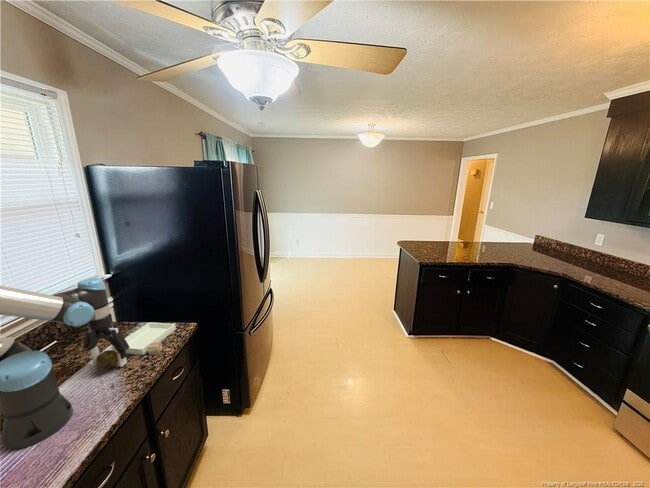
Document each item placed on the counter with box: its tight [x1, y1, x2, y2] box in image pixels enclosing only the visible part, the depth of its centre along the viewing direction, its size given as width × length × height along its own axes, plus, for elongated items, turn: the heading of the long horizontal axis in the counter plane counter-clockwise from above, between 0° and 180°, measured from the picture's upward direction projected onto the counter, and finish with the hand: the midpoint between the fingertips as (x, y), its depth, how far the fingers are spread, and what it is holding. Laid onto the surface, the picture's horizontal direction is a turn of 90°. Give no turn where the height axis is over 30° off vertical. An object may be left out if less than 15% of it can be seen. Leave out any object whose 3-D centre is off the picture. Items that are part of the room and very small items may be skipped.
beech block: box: [147, 341, 163, 356], centre depth 117 cm, size 4×4×4 cm
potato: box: [96, 349, 119, 370], centre depth 108 cm, size 8×13×8 cm, turn 27°
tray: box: [111, 322, 177, 356], centre depth 126 cm, size 21×15×3 cm
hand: (110, 363), depth 109 cm, fingers closed on potato, 12 cm apart
